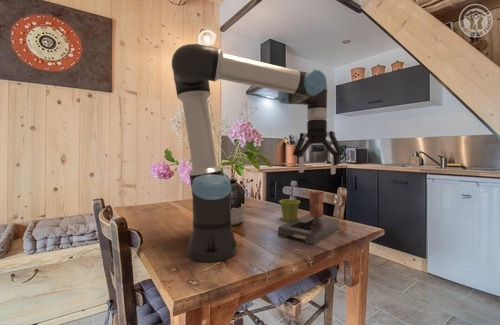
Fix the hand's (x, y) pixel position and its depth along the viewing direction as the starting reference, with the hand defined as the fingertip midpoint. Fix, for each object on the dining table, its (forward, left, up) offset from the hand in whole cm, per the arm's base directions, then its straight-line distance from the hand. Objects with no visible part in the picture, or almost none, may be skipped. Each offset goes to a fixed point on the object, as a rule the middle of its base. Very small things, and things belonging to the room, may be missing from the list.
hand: (316, 173), depth 98 cm
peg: (0, 0, -23) cm, 23 cm away
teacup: (-33, -14, -23) cm, 43 cm away
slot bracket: (0, -5, -22) cm, 23 cm away
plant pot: (-15, +5, -23) cm, 28 cm away
